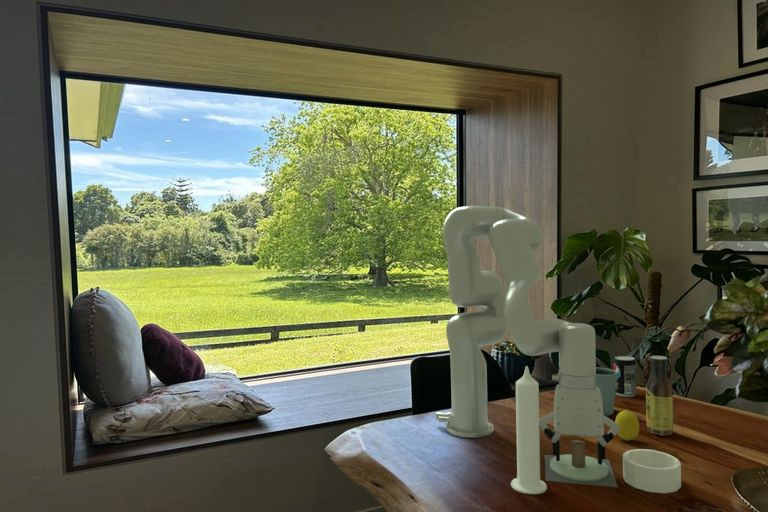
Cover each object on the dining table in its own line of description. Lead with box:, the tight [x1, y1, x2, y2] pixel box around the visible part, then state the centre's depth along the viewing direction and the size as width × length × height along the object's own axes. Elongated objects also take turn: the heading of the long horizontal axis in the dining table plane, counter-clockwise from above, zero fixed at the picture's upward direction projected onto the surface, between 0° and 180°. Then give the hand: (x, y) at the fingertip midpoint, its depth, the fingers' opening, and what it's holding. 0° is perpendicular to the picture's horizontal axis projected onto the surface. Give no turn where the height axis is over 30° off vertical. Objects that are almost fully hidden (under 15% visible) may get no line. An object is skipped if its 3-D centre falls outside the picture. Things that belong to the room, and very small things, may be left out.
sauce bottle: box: [645, 355, 674, 437], centre depth 139 cm, size 6×6×20 cm
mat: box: [544, 454, 619, 488], centre depth 118 cm, size 14×14×1 cm
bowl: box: [622, 448, 682, 494], centre depth 111 cm, size 10×10×5 cm
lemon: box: [614, 409, 640, 442], centre depth 134 cm, size 6×6×8 cm
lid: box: [550, 439, 608, 482], centre depth 118 cm, size 12×12×6 cm
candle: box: [510, 365, 548, 495], centre depth 110 cm, size 7×7×25 cm
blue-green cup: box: [596, 366, 617, 416], centre depth 158 cm, size 10×10×12 cm
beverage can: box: [613, 355, 638, 398], centre depth 174 cm, size 7×7×12 cm
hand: (578, 460), depth 118 cm, fingers open, 8 cm apart
